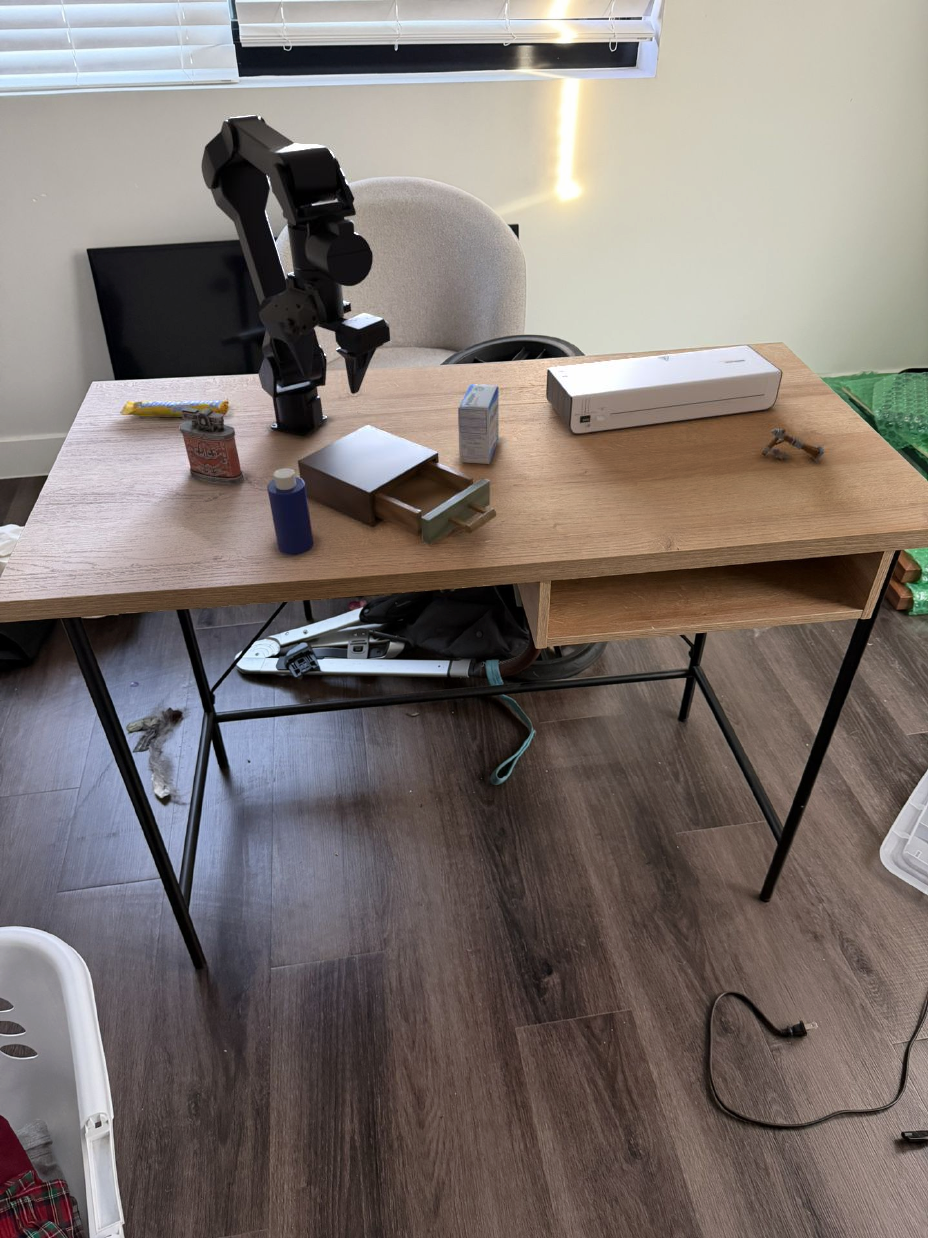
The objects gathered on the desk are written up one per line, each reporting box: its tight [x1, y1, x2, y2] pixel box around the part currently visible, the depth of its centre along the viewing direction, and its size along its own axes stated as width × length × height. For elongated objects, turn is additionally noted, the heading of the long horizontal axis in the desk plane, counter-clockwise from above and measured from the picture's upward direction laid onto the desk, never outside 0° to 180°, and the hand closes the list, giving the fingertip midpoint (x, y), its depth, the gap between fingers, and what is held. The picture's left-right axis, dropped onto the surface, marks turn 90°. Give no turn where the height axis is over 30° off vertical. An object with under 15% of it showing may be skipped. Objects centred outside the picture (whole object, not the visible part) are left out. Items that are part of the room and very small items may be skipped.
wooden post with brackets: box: [761, 427, 825, 463], centre depth 121 cm, size 2×8×4 cm, turn 86°
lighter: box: [178, 407, 245, 485], centre depth 117 cm, size 8×3×10 cm, turn 71°
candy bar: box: [119, 397, 230, 418], centre depth 136 cm, size 17×4×2 cm, turn 91°
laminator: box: [545, 345, 784, 436], centre depth 133 cm, size 34×12×6 cm, turn 104°
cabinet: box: [297, 424, 440, 529], centre depth 115 cm, size 13×13×5 cm
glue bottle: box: [266, 467, 315, 556], centre depth 104 cm, size 4×4×10 cm
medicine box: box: [457, 383, 500, 465], centre depth 122 cm, size 8×4×9 cm, turn 168°
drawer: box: [373, 461, 497, 546], centre depth 110 cm, size 16×12×4 cm
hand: (330, 383), depth 115 cm, fingers open, 9 cm apart
